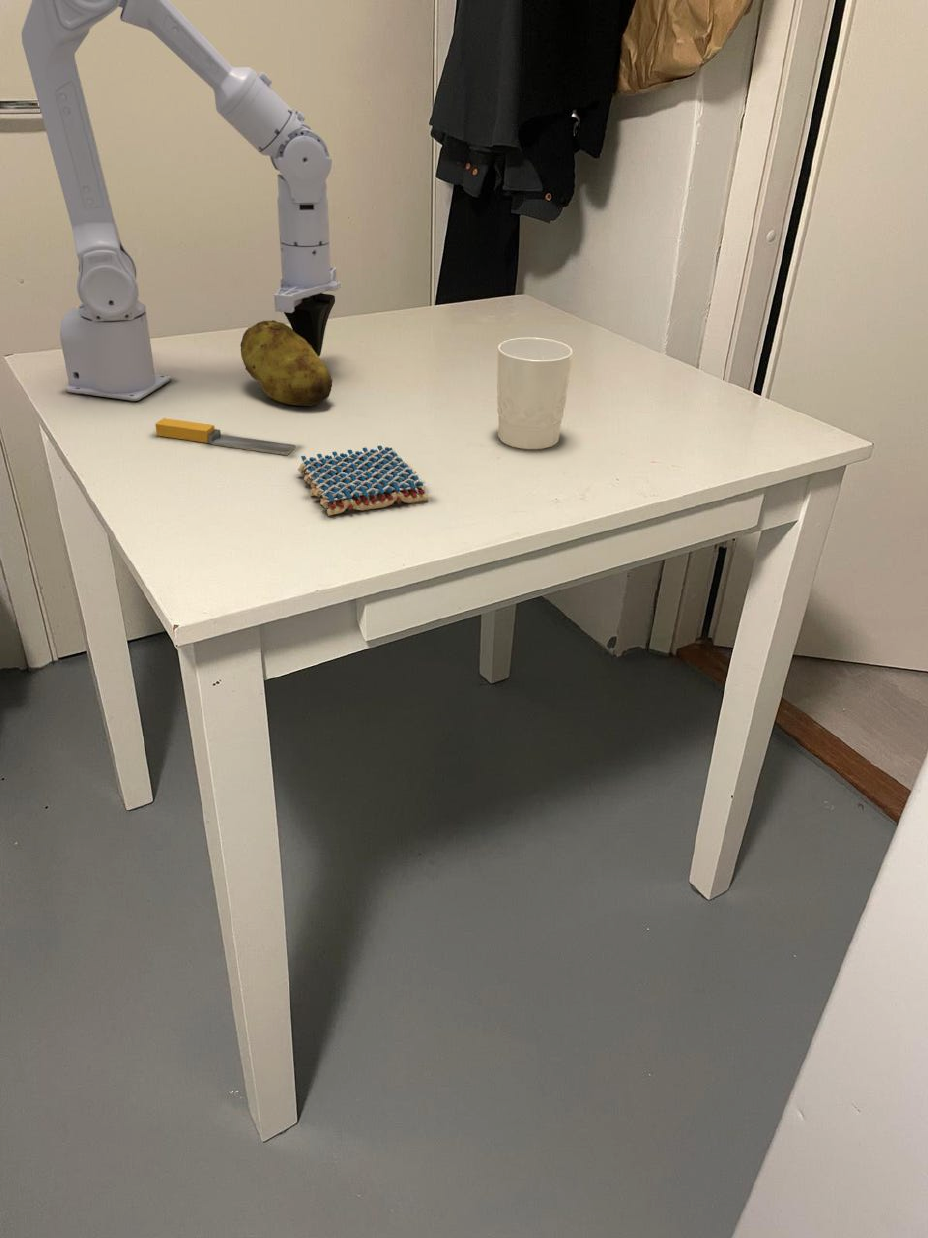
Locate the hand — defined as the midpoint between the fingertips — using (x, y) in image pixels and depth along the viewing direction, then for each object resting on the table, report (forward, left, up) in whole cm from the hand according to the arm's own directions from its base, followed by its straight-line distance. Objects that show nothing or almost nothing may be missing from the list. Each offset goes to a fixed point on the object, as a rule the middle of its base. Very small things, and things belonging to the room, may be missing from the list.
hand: (310, 356), depth 119 cm
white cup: (+30, -11, -3) cm, 32 cm away
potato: (0, -8, -3) cm, 8 cm away
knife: (0, -23, -2) cm, 23 cm away
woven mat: (+17, -29, -3) cm, 34 cm away
